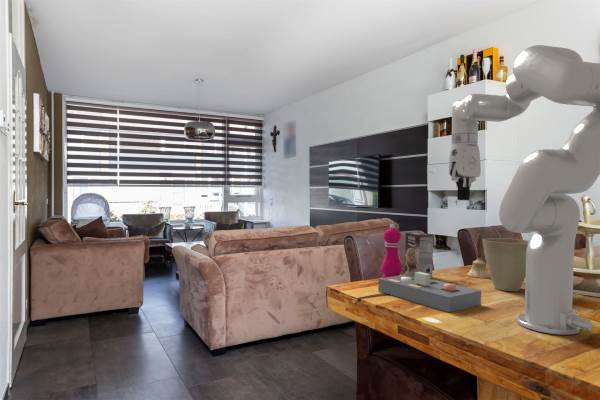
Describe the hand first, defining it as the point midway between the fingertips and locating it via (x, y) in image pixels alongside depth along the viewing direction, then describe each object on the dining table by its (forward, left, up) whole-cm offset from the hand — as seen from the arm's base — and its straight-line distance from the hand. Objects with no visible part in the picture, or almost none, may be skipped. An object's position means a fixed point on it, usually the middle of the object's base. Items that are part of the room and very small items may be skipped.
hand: (463, 200), depth 125 cm
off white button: (+10, +14, -27) cm, 32 cm away
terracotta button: (-6, +14, -26) cm, 30 cm away
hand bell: (+13, -29, -29) cm, 43 cm away
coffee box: (+24, -8, -29) cm, 39 cm away
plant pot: (-4, -18, -29) cm, 35 cm away
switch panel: (+2, +14, -29) cm, 32 cm away
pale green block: (+2, +16, -28) cm, 32 cm away
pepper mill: (+24, +6, -29) cm, 38 cm away
